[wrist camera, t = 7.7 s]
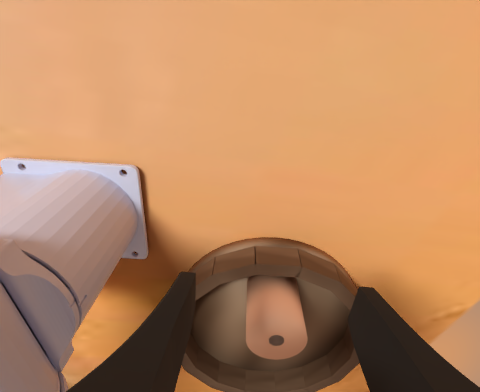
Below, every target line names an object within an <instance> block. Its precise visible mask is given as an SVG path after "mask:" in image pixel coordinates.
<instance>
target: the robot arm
mask: <svg viewBox="0 0 480 392" xmlns="http://www.w3.org/2000/svg"><path fill="white" fill-rule="evenodd" d="M22 164H23V165H25V167H26V168H24V167H23V166H22ZM0 166H1V168H2V171H3V174H2V175H0V392H174V391H175V387H176V383H177V379H178V375H179V372H180V368H181V365H182V361H183V358H184V354H185V351H186V347H187V343H188V340H189V336H190V333H191V329H192V323H193V317H194V311H195V296H196V273H191V272H181V273H179V275H178V277H177V279H176V280H175V282H174V283H173V285H172V286H171V288H170V289H169V291H168V292H167V294H166V295H165V296H164V298H163V299H162V300H161V302H160V303H159V304H158V305H157V307H156V308H155V309H154V311H153V312H152V313H151V314H150V315H149V316H148V318H147V319H146V320H145V321H144V322H143V323H142V325H141V326H140V327H139V328H138V329H137V330H136V331H135V332H134V333H133V334H132V335H131V336H130V337H129V338H128V339H127V340H126V341H125V342H124V343H123V344H122V345H121V346H120V347H119V348H118V349H117V350H116V351H115V352H114V353H113V354H112V355H111V356H109V357H108V358H107V359H106V360H105V361H104V362H103V363H102V364H100V365H99V366H98V367H97V368H95V369H94V370H93V371H92V372H91V373H89V374H88V375H87V376H86V377H84V378H83V379H82V380H81V381H79V382H78V383H77V384H75V385H74V386H73V387H71V388H70V389H69V390H68V385H67V382H66V379H65V377H64V376H63V374H62V373H61V371H62V370H63V368H64V366H65V365H66V363H67V361H68V359H69V358H70V356H71V354H72V353H73V351H74V348H73V346H72V338H73V336H74V335H75V333H76V331H77V330H78V328H79V326H80V325H81V323H82V321H83V320H84V318H85V316H86V315H87V313H88V312H89V310H90V308H91V307H92V305H93V303H94V302H95V300H96V298H97V297H98V295H99V293H100V292H101V290H102V288H103V287H104V285H105V283H106V282H107V280H108V278H109V277H110V275H111V274H112V272H113V270H114V269H115V267H116V265H117V264H118V262H119V260H120V259H121V258H131V259H145V258H147V256H148V254H149V251H148V242H147V233H146V225H145V216H144V207H143V199H142V190H141V182H140V173H139V169H138V168H137V167H136V166H134V165H126V164H109V163H93V162H76V161H59V160H42V159H26V158H5V159H3V160H1V162H0ZM122 169H123V170H125V171H126V172H127V174H123V173H122V171H121V170H122ZM134 252H137V253H138V254H136V253H134ZM348 323H349V328H350V333H351V337H352V341H353V345H354V348H355V351H356V354H357V356H358V359H359V362H360V365H361V368H362V371H363V373H364V376H365V379H366V382H367V385H368V387H369V390H370V392H480V387H478V386H477V385H476V384H474V383H473V382H472V381H470V380H469V379H468V378H467V377H465V376H464V375H463V374H462V373H460V372H459V371H458V370H457V369H455V368H454V367H453V366H452V365H451V364H450V363H449V362H447V361H446V360H445V359H444V358H443V357H441V356H440V355H439V354H438V353H437V352H436V351H435V350H434V349H433V348H432V347H431V346H430V345H429V344H427V343H426V342H425V341H424V340H423V339H422V338H421V337H420V336H419V335H418V334H417V333H416V332H415V331H414V330H413V329H412V328H411V327H410V326H409V325H408V324H407V323H406V322H405V321H404V320H403V319H402V318H401V317H400V316H399V315H398V314H397V313H396V311H395V310H394V309H393V308H392V307H391V306H390V305H389V304H388V303H387V302H386V301H385V300H384V299H383V298H382V297H381V295H380V294H379V293H378V292H377V291H376V290H375V289H374V288H370V287H359V288H358V291H357V294H356V297H355V300H354V302H353V305H352V308H351V311H350V314H349V316H348Z"/></svg>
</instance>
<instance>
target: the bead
mask: <svg viewBox="0 0 480 392" xmlns="http://www.w3.org/2000/svg"><path fill="white" fill-rule="evenodd" d="M307 340H308V337H307V332H306V327H305V322H304V316H303V311H302V306H301V301H300V296H299V290H298V285H297V280H296V277H282V276H266V275H255V276H251V277H248V280H247V301H246V344H247V346H248V348H249V349H250V350H251V351H252V352H253V353H254V354H256V355H258V356H260V357H263V358H266V359H274V360H279V359H286V358H290V357H293V356H295V355H297V354H298V353H300V352H301V351H302V350H303V349H304V348H305V346H306V344H307Z"/></svg>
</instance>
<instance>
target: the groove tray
mask: <svg viewBox="0 0 480 392" xmlns="http://www.w3.org/2000/svg"><path fill="white" fill-rule="evenodd" d="M188 272H191V273H196V296H195V311H194V317H193V323H192V329H191V333H190V336H189V340H188V343H187V347H186V351H185V354H184V358H183V361H182V366H183V368H184V369H185V370H186V371H187V372H188V373H190V374H191V375H193V376H194V377H196V378H197V379H199V380H200V381H202V382H203V383H205V384H206V385H208V386H210V387H212V388H214V389H217V390H221V391H224V392H316V391H318V390H320V389H323V388H325V387H327V386H329V385H332V384H334V383H336V382H339V380H341V379H343V378H344V377H345V376H346V375H347V374H348V373H349V372H350V371H351V370H352V369H353V368H355V367H356V366H357V365H358V364H359V363H360V362H359V359H358V356H357V354H356V351H355V348H354V345H353V341H352V337H351V333H350V328H349V323H348V316H349V314H350V311H351V308H352V305H353V302H354V300H355V297H356V294H357V291H358V289H357V287H356V286H355V285H354V284H353V282H352V280H351V278H350V276H349V274H348V273H347V272H346V270H345V269H344V268H343V267H342V265H340V264H339V263H338V262H337V261H336V260H335V259H334V258H333V257H331V256H330V255H328V254H327V253H325V252H324V251H322V250H320V249H318V248H316V247H314V246H311V245H308V244H305V243H302V242H299V241H294V240H290V239H283V238H252V239H245V240H241V241H236V242H233V243H230V244H227V245H224V246H222V247H220V248H217V249H215V250H213V251H212V252H210V253H208V254H207V255H205V256H204V257H202V258H201V259H200V260H199V261H198V262H196V263H195V264H194V265H193V267H192V268H191V269H190V270H189V271H188ZM255 275H266V276H282V277H296V280H297V285H298V290H299V296H300V301H301V306H302V311H303V316H304V322H305V327H306V332H307V337H308V340H307V344H306V346H305V348H304V349H303V350H302V351H301V352H300V353H298V354H297V355H295V356H293V357H290V358H286V359H279V360H274V359H266V358H263V357H260V356H258V355H256V354H254V353H253V352H252V351H251V350H250V349H249V348H248V346H247V344H246V301H247V280H248V277H251V276H255Z"/></svg>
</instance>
